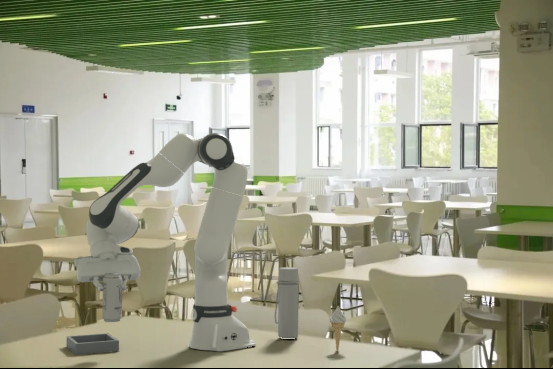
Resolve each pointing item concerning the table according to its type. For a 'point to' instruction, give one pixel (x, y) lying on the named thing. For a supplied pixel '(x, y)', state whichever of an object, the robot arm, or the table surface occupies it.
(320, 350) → the table surface
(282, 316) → the water bottle
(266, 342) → the table surface
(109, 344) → the gray tray
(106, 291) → the energy drink can
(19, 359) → the table surface
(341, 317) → the ice cream cone
